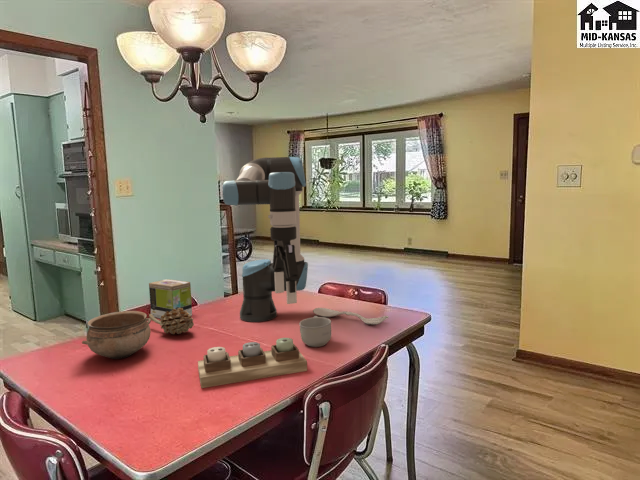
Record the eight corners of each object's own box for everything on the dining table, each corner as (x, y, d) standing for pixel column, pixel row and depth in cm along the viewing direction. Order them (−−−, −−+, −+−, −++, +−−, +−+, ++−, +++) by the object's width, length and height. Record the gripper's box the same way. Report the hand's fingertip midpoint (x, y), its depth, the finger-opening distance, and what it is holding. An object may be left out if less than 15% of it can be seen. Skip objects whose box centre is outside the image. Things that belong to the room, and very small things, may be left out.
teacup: (328, 350, 143) (328, 327, 142) (296, 348, 145) (295, 325, 144) (335, 336, 156) (335, 314, 155) (306, 334, 159) (305, 313, 158)
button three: (241, 353, 130) (241, 343, 129) (258, 350, 131) (258, 340, 131) (244, 359, 125) (244, 349, 124) (261, 356, 126) (261, 346, 126)
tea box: (193, 315, 185) (191, 281, 183) (173, 322, 176) (171, 286, 174) (169, 310, 193) (167, 277, 191) (150, 316, 184) (147, 282, 182)
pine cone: (201, 332, 164) (200, 306, 162) (184, 340, 155) (182, 313, 154) (156, 325, 172) (154, 301, 171) (137, 333, 163) (135, 307, 162)
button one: (274, 348, 133) (274, 338, 132) (290, 346, 134) (290, 336, 134) (278, 354, 128) (278, 344, 128) (295, 352, 130) (294, 341, 129)
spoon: (378, 330, 162) (378, 321, 162) (308, 316, 180) (308, 308, 180) (389, 323, 170) (389, 315, 169) (321, 311, 188) (321, 303, 187)
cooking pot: (106, 375, 127) (103, 335, 126) (65, 364, 136) (62, 326, 134) (171, 346, 150) (168, 311, 148) (132, 338, 158) (129, 305, 156)
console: (198, 370, 129) (197, 352, 129) (295, 355, 139) (295, 339, 138) (201, 388, 118) (200, 368, 118) (307, 370, 128) (306, 352, 127)
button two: (207, 358, 126) (206, 347, 126) (224, 355, 128) (224, 345, 128) (208, 364, 122) (208, 354, 121) (226, 362, 123) (226, 351, 123)
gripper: (261, 223, 137) (263, 289, 140) (281, 230, 114) (284, 310, 117) (284, 222, 140) (286, 287, 142) (309, 229, 116) (310, 306, 119)
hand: (285, 297), depth 129 cm, fingers open, 13 cm apart
